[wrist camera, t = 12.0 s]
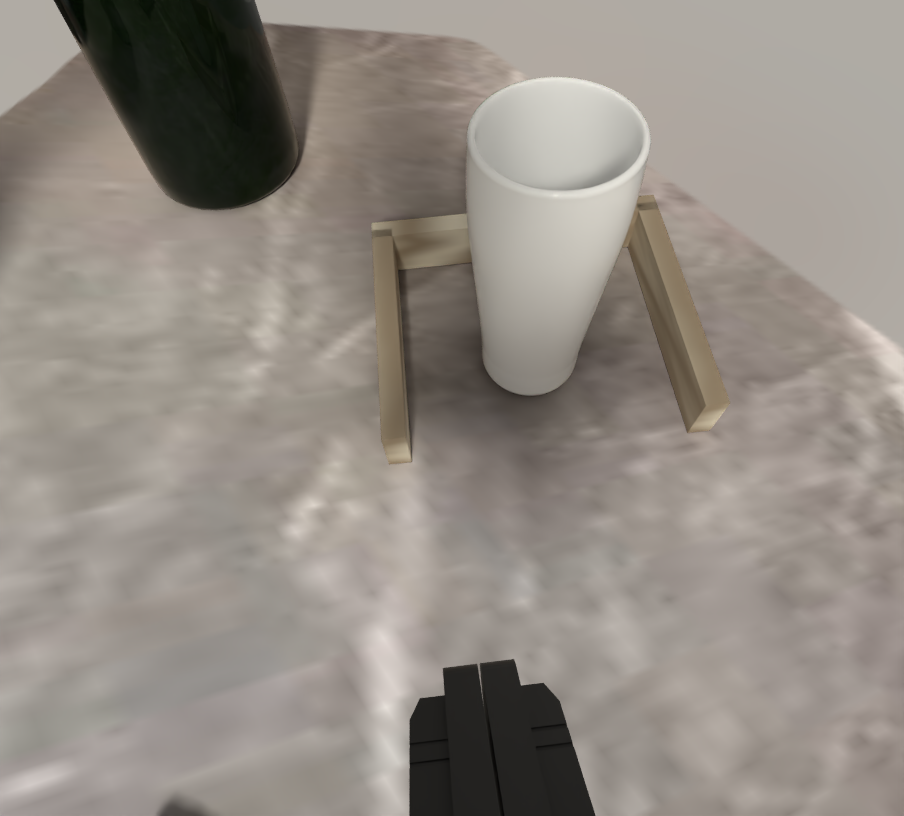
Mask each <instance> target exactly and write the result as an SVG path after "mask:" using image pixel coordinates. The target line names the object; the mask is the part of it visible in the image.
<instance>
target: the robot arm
mask: <svg viewBox="0 0 904 816" xmlns="http://www.w3.org/2000/svg"><path fill="white" fill-rule="evenodd" d="M480 672H481V683H482V692H481V686H480V679H479V673H478V666H477V664H472V665H464V666H456V667H448V668H443V676H444V690H445V695H444V696H436V697H428V698H420V700H419V702H418V704H417V706H416V708H415V710H414V712H413V714H412V716H411V718H410V816H595V813H594V810H593V807H592V803H591V800H590V797H589V794H588V791H587V787H586V784H585V781H584V778H583V775H582V771H581V768H580V765H579V762H578V759H577V755H576V752H575V749H574V747H573V744H572V739H571V736H570V733H569V730H568V728H567V723H566V720H565V717H564V714H563V711H562V707H561V704H560V701H559V700H558V699H557V698H556V696H555V695H554V694H553V693H552V692H551V691H550V690H549V689H548V688H547V686H546V685H545V684H544V683H539V684H531V685H523V686H521V685H520V680H519V676H518V672H517V668H516V664H515V661H514V659H512V660H503V661H495V662H487V663H480ZM482 694H483V699H482ZM483 704H484V706H483Z"/></svg>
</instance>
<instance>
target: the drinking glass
mask: <svg viewBox="0 0 904 816" xmlns="http://www.w3.org/2000/svg"><path fill="white" fill-rule="evenodd" d="M650 145H651V136H650V130H649V127H648V124H647V122H646V119H645V118H644V116H643V114H642V113H641V112H640V110H639V109H638V108H637V107H636V106H635V105H634V104H633V103H632V102H631V101H630V100H629V99H627V98H626V97H625V96H623V95H622V94H620V93H618V92H617V91H615V90H613V89H611V88H609V87H606V86H604V85H601V84H598V83H595V82H592V81H588V80H583V79H579V78H570V77H542V78H534V79H529V80H525V81H521V82H518V83H514V84H512V85H509V86H507V87H505V88H503V89H501V90H499V91H497V92H495V93H494V94H492V95H491V96H490V97H488V98H487V99H486V100H485V101H484V102H483V103H482V104H481V105H480V106H479V107H478V108H477V110H476V111H475V112H474V114H473V116H472V117H471V120H470V122H469V126H468V129H467V147H466V178H465V186H466V215H467V227H468V237H469V245H470V252H471V259H472V267H473V274H474V281H475V288H476V296H477V303H478V311H479V319H480V327H481V335H482V359H483V363H484V366H485V369H486V371H487V373H488V374H489V376H490V377H491V378H492V379H493V380H494V381H495V382H496V383H497V384H498V385H499V386H501V387H502V388H504V389H506V390H507V391H510V392H512V393H516V394H520V395H528V396H533V395H541V394H545V393H548V392H551V391H553V390H555V389H557V388H558V387H560V386H561V385H562V384H563V383H564V382H565V381H566V380H567V379H568V378H569V377H570V375H571V374H572V372H573V370H574V367H575V365H576V361H577V357H578V353H579V350H580V347H581V345H582V342H583V340H584V337H585V335H586V333H587V330H588V328H589V325H590V323H591V320H592V318H593V316H594V313H595V311H596V308H597V306H598V304H599V301H600V299H601V297H602V294H603V292H604V290H605V287H606V285H607V282H608V280H609V278H610V275H611V273H612V271H613V268H614V266H615V264H616V261H617V259H618V256H619V254H620V251H621V249H622V246H623V244H624V241H625V238H626V235H627V233H628V230H629V227H630V224H631V221H632V218H633V214H634V211H635V208H636V204H637V201H638V197H639V193H640V189H641V185H642V181H643V177H644V172H645V168H646V163H647V159H648V155H649V151H650Z"/></svg>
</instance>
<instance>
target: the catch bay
mask: <svg viewBox="0 0 904 816" xmlns="http://www.w3.org/2000/svg"><path fill="white" fill-rule="evenodd" d="M371 225H372V247H373V269H374V290H375V312H376V334H377V356H378V377H379V399H380V421H381V440H382V443H383V446H384V449H385V452H386V456H387V459H388V462H389V464H397V463H407V462H412V457H411V443H410V429H409V415H408V401H407V387H406V373H405V359H404V345H403V332H402V318H401V304H400V290H399V276H398V270H403V269H413V268H423V267H433V266H442V265H452V264H462V263H472V259H471V252H470V245H469V237H468V227H467V215H466V214H457V215H447V216H437V217H427V218H417V219H407V220H397V221H387V222H377V223H371ZM622 247H628V249H629V252H630V255H631V258H632V261H633V264H634V267H635V271H636V274H637V277H638V280H639V283H640V286H641V289H642V292H643V295H644V299H645V302H646V305H647V308H648V311H649V314H650V317H651V320H652V323H653V327H654V330H655V333H656V336H657V339H658V342H659V345H660V348H661V352H662V355H663V358H664V361H665V364H666V367H667V370H668V373H669V376H670V380H671V383H672V386H673V389H674V392H675V395H676V398H677V401H678V405H679V408H680V411H681V414H682V417H683V420H684V423H685V426H686V429H687V433H690V432H700V431H709V430H710V429H711V428H712V427H713V425H714V424H715V423H716V421H717V420H718V419H719V417H720V416H721V415H722V413H723V412H724V411H725V409H726V408H727V407H728V405H729V404H730V401H729V398H728V395H727V393H726V390H725V387H724V385H723V382H722V379H721V377H720V374H719V371H718V368H717V366H716V363H715V360H714V358H713V355H712V352H711V349H710V347H709V344H708V341H707V339H706V336H705V333H704V330H703V328H702V325H701V322H700V320H699V317H698V314H697V311H696V309H695V306H694V303H693V301H692V298H691V295H690V293H689V290H688V287H687V284H686V282H685V279H684V276H683V274H682V271H681V268H680V265H679V263H678V260H677V257H676V255H675V252H674V249H673V246H672V244H671V241H670V238H669V236H668V233H667V230H666V227H665V225H664V222H663V219H662V217H661V214H660V211H659V209H658V206H657V203H656V200H655V198H654V195H646V196H639V197H638V201H637V204H636V208H635V211H634V214H633V218H632V221H631V224H630V227H629V230H628V233H627V235H626V238H625V241H624V244H623V246H622Z"/></svg>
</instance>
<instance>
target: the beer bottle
mask: <svg viewBox="0 0 904 816" xmlns="http://www.w3.org/2000/svg"><path fill="white" fill-rule="evenodd" d="M54 2H55V3H56V5H57V7H58V9H59V11H60V12H61V14H62V16H63V18H64V20H65V22H66V23H67V25H68V27H69V29H70V31H71V32H72V34H73V36H74V38H75V39H76V42H77V43H78V45H79V47H80V49H81V51H82V52H83V54H84V56H85V58H86V60H87V62H88V63H89V65H90V67H91V69H92V71H93V72H94V74H95V76H96V78H97V80H98V81H99V83H100V85H101V87H102V89H103V90H104V92H105V94H106V96H107V98H108V99H109V101H110V103H111V105H112V107H113V108H114V110H115V112H116V114H117V116H118V117H119V119H120V121H121V123H122V125H123V126H124V128H125V130H126V132H127V134H128V135H129V137H130V139H131V141H132V142H133V144H134V146H135V148H136V149H137V151H138V153H139V155H140V156H141V158H142V160H143V162H144V163H145V165H146V167H147V169H148V170H149V172H150V174H151V175H152V177H153V178H154V180H155V181H156V183H157V185H158V186H159V187H160V189H161V190H162V191H163V192H164V193H165V194H166V195H167V196H169V197H170V198H172V199H173V200H175V201H176V202H178V203H180V204H183V205H185V206H188V207H191V208H196V209H201V210H224V209H232V208H236V207H240V206H244V205H247V204H250V203H252V202H255V201H257V200H260V199H261V198H263V197H265V196H267V195H268V194H270V193H272V192H273V191H274V190H276V189H277V188H278V187H279V186H281V185H282V184H283V183H284V181H285V180H286V179H287V178H288V177H289V176H290V174H291V172H292V171H293V169H294V167H295V164H296V161H297V158H298V154H299V143H298V139H297V135H296V131H295V127H294V123H293V120H292V117H291V113H290V110H289V107H288V104H287V100H286V97H285V94H284V91H283V88H282V84H281V81H280V78H279V75H278V72H277V69H276V65H275V62H274V59H273V56H272V53H271V50H270V47H269V44H268V41H267V37H266V34H265V31H264V28H263V25H262V22H261V19H260V16H259V13H258V10H257V6H256V4H255V0H54Z"/></svg>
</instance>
